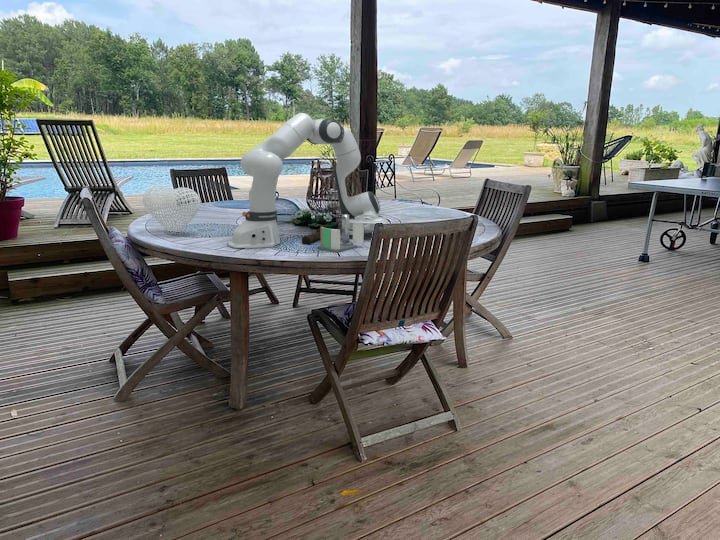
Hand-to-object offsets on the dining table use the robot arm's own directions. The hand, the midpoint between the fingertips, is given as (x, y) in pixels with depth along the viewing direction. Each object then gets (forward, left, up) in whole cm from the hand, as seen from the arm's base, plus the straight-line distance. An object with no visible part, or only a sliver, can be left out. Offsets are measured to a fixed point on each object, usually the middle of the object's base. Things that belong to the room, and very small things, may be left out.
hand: (362, 228), depth 223 cm
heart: (-71, +53, -7) cm, 89 cm away
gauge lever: (-12, -11, -4) cm, 17 cm away
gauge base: (-16, -6, -6) cm, 18 cm away
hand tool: (-18, +13, -7) cm, 23 cm away
